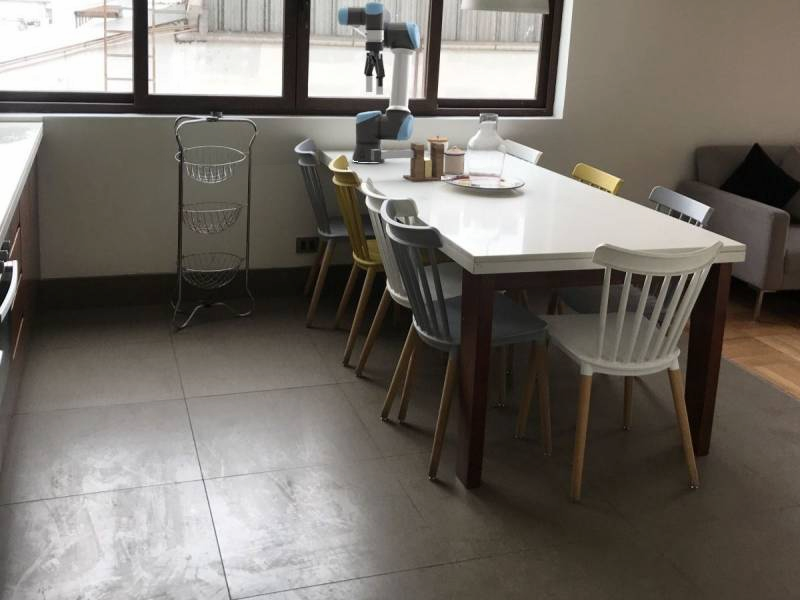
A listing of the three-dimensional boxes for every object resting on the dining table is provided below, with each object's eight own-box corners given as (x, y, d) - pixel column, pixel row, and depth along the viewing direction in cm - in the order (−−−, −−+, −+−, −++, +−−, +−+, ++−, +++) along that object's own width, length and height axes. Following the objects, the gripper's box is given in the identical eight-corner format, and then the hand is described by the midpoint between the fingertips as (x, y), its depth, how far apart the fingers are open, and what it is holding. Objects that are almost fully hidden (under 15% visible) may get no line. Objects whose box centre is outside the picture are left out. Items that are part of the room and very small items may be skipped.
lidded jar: (441, 156, 467) (441, 137, 464) (422, 154, 473) (423, 135, 470) (452, 154, 476) (452, 135, 473) (434, 152, 481) (434, 133, 479)
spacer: (418, 175, 405) (419, 157, 403) (425, 175, 406) (425, 157, 404) (424, 178, 399) (425, 160, 397) (431, 177, 400) (431, 160, 398)
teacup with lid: (467, 173, 417) (468, 147, 414) (449, 175, 414) (449, 148, 410) (456, 169, 428) (456, 143, 424) (437, 170, 424) (438, 144, 421)
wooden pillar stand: (403, 177, 406) (403, 142, 401) (439, 175, 411) (440, 140, 407) (413, 182, 395) (413, 145, 391) (450, 180, 401) (451, 144, 396)
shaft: (370, 159, 395) (370, 149, 393) (415, 157, 401) (416, 147, 400) (374, 161, 391) (374, 150, 389) (419, 159, 397) (419, 148, 396)
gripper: (356, 40, 404) (356, 91, 410) (375, 42, 382) (375, 95, 388) (373, 40, 407) (373, 90, 413) (393, 42, 384) (392, 95, 391)
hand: (374, 93), depth 400 cm, fingers open, 13 cm apart
